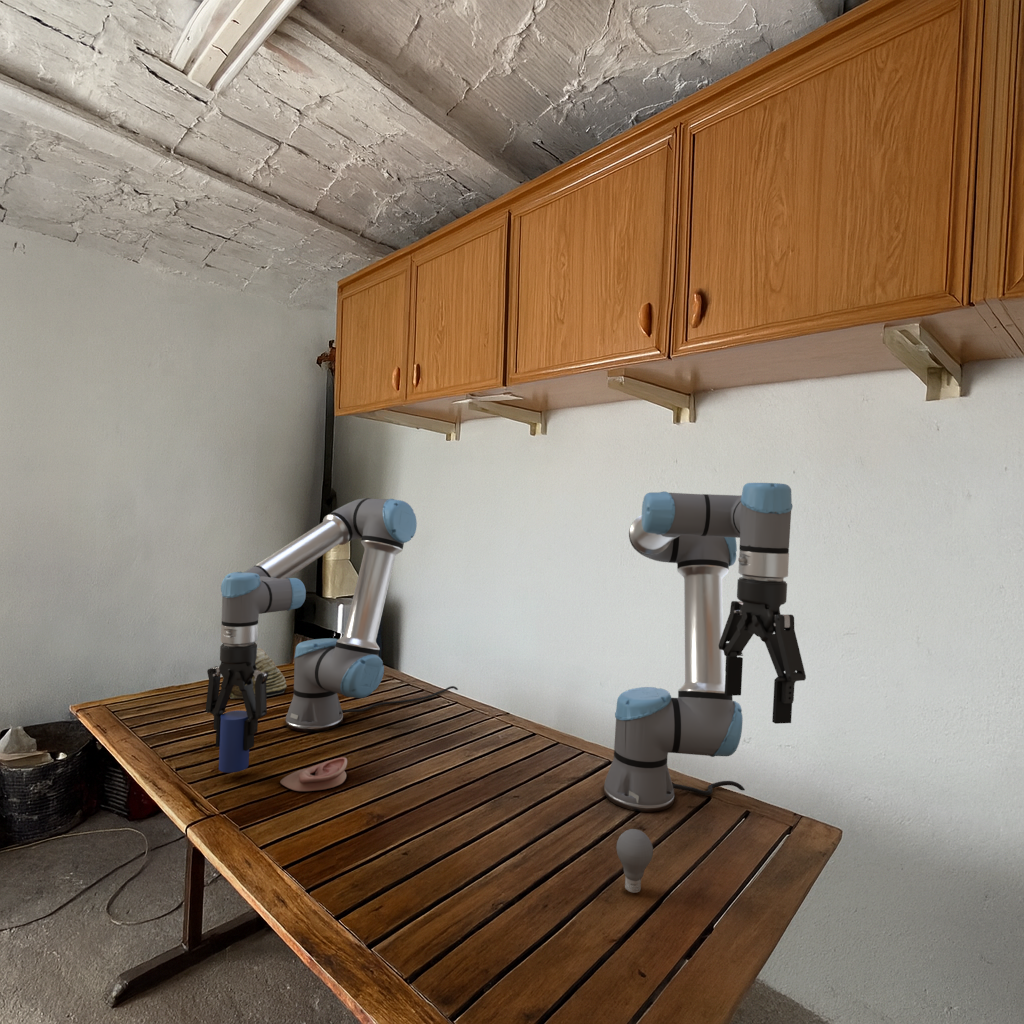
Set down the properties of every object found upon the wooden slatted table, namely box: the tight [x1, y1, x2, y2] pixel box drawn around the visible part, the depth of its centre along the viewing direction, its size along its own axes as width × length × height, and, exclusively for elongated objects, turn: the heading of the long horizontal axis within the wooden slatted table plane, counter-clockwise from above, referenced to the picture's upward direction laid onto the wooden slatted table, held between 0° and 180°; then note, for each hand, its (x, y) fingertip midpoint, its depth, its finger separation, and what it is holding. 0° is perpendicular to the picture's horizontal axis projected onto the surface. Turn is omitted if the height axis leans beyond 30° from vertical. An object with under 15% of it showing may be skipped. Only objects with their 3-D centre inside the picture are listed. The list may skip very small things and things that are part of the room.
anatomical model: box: [279, 756, 348, 792], centre depth 141 cm, size 13×4×12 cm
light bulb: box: [615, 828, 654, 894], centre depth 106 cm, size 6×6×10 cm
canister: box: [218, 710, 250, 774], centre depth 141 cm, size 6×6×12 cm
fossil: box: [229, 647, 288, 699], centre depth 198 cm, size 9×18×15 cm, turn 132°
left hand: (234, 746), depth 141 cm, fingers closed on canister, 6 cm apart
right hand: (755, 708), depth 103 cm, fingers open, 13 cm apart
